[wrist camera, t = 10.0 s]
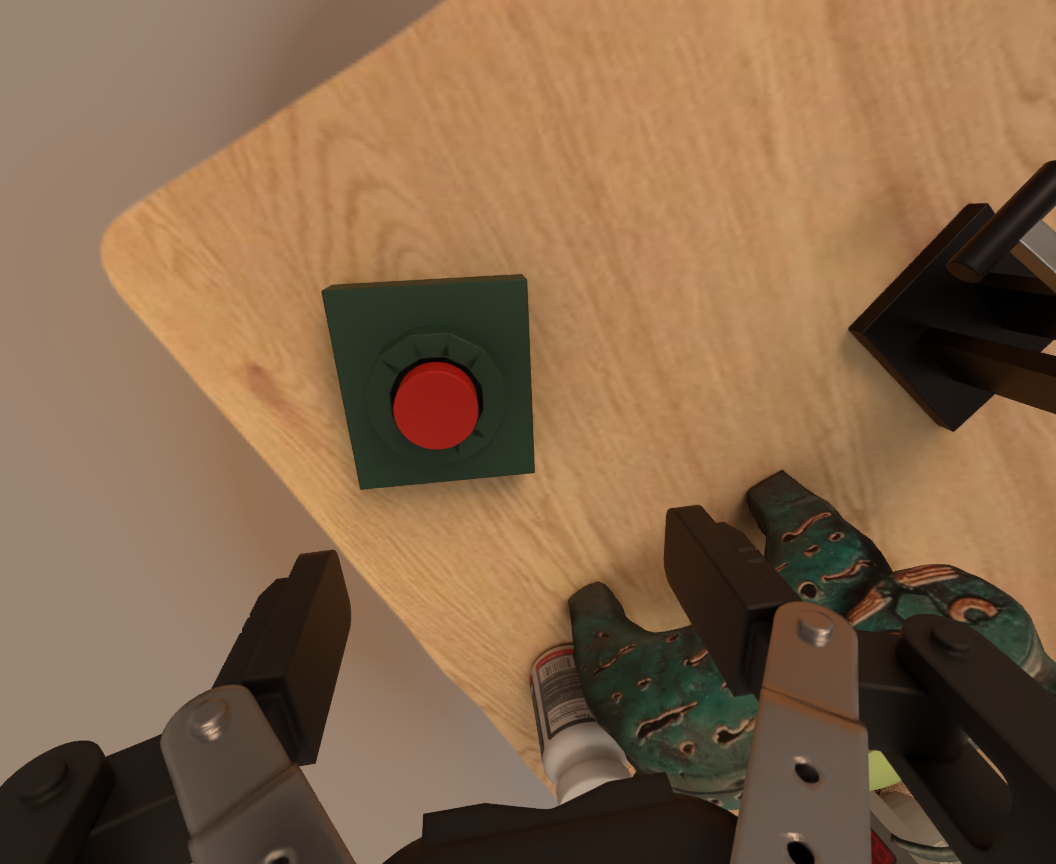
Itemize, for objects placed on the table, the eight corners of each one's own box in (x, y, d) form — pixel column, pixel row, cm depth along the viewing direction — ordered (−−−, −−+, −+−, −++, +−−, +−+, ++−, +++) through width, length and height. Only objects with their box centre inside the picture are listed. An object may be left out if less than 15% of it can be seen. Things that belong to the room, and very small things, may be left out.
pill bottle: (583, 701, 41) (620, 839, 32) (517, 690, 40) (536, 831, 31) (612, 648, 39) (659, 778, 30) (544, 635, 38) (572, 768, 29)
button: (391, 364, 25) (387, 374, 23) (473, 358, 25) (475, 368, 24) (403, 439, 26) (399, 453, 25) (480, 432, 27) (481, 446, 25)
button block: (331, 284, 26) (311, 296, 23) (522, 274, 28) (532, 283, 24) (366, 472, 31) (354, 506, 27) (530, 457, 32) (539, 488, 28)
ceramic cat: (799, 443, 34) (1197, 709, 16) (827, 511, 37) (1195, 807, 18) (546, 589, 36) (637, 972, 18) (588, 643, 39) (707, 1027, 20)
